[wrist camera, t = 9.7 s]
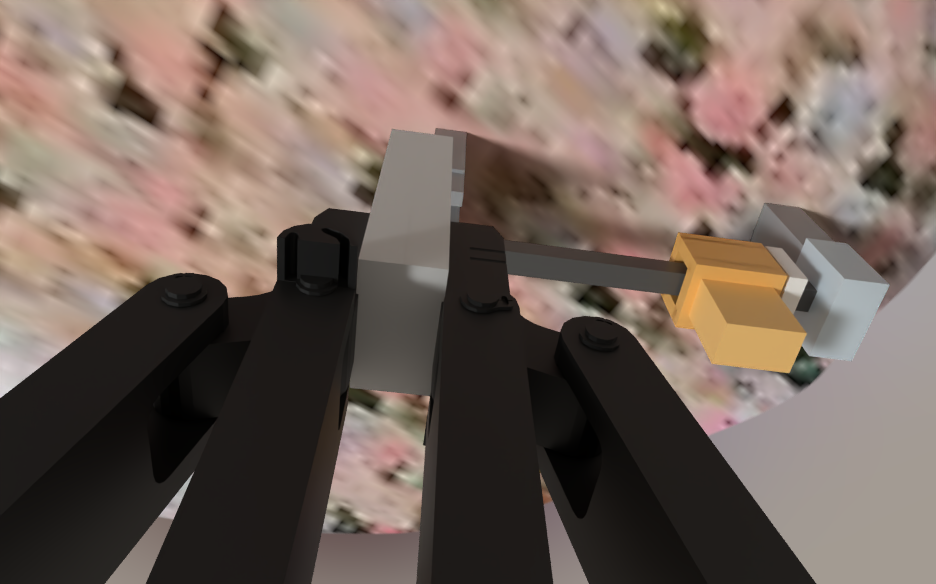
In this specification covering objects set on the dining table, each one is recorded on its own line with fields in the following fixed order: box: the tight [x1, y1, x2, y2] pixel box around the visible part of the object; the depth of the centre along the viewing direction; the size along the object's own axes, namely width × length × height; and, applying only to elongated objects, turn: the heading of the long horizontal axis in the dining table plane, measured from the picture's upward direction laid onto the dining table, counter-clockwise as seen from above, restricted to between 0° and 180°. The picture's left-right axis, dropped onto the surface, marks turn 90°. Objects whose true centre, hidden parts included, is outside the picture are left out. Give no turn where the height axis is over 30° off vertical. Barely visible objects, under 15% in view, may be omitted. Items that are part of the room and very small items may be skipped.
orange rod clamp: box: [661, 232, 807, 373], centre depth 38 cm, size 5×4×8 cm
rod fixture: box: [435, 128, 890, 361], centre depth 43 cm, size 25×8×12 cm, turn 82°
